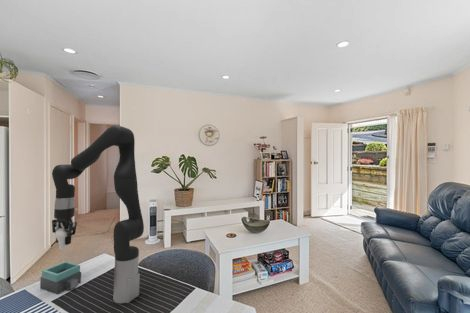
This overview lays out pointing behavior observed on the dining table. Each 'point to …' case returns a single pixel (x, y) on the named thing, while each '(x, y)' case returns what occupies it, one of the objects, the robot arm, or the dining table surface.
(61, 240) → the lightbulb
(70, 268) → the teal and grey box
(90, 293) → the dining table surface
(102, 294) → the dining table surface
